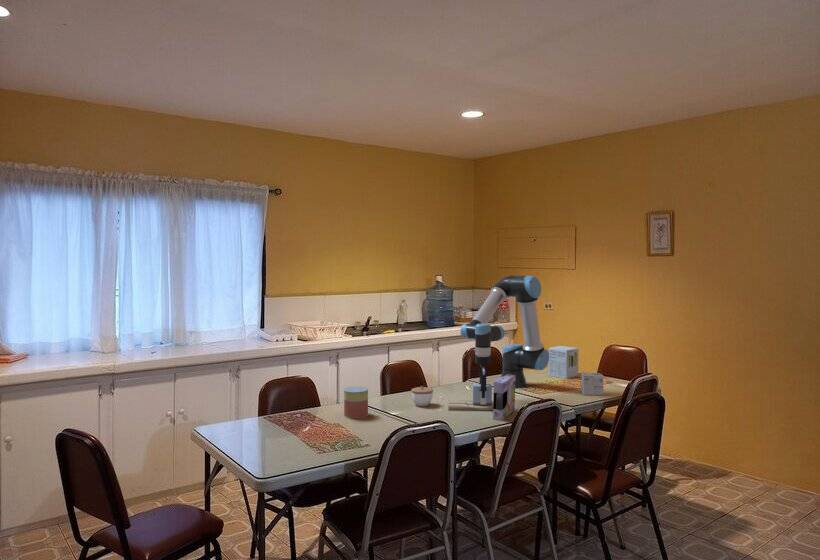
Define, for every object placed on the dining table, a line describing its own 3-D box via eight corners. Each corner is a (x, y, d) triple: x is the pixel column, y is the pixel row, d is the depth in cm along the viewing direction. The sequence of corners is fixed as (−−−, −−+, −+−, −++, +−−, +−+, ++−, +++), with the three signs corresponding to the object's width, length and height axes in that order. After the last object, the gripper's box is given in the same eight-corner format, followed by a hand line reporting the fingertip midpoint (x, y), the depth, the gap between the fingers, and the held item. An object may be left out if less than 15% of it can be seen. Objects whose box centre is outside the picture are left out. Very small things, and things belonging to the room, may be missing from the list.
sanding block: (472, 402, 286) (472, 384, 285) (491, 402, 285) (491, 384, 285) (473, 404, 281) (473, 386, 280) (491, 405, 280) (491, 386, 280)
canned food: (373, 415, 270) (373, 389, 269) (353, 419, 262) (353, 393, 262) (358, 410, 278) (357, 385, 277) (339, 414, 270) (338, 389, 270)
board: (448, 403, 291) (448, 400, 291) (500, 404, 289) (500, 401, 289) (448, 410, 278) (448, 407, 278) (502, 411, 276) (502, 407, 276)
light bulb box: (601, 392, 313) (601, 372, 312) (604, 395, 306) (604, 375, 306) (580, 392, 314) (581, 372, 313) (583, 395, 307) (583, 375, 307)
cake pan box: (501, 421, 259) (501, 382, 258) (491, 419, 261) (491, 381, 260) (515, 411, 275) (516, 374, 275) (505, 410, 278) (505, 373, 277)
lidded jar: (426, 408, 281) (426, 389, 280) (407, 405, 286) (407, 387, 286) (436, 403, 290) (436, 385, 289) (418, 401, 295) (418, 382, 295)
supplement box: (566, 379, 348) (566, 350, 347) (548, 375, 358) (548, 347, 357) (578, 376, 357) (579, 347, 356) (560, 372, 367) (560, 345, 366)
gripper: (474, 352, 291) (474, 398, 292) (476, 358, 273) (476, 407, 274) (489, 352, 291) (489, 398, 292) (492, 358, 273) (492, 407, 274)
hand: (482, 402), depth 283 cm, fingers closed on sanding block, 5 cm apart
